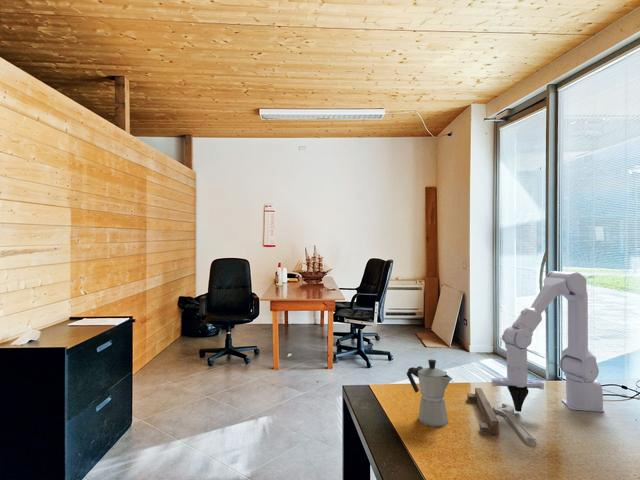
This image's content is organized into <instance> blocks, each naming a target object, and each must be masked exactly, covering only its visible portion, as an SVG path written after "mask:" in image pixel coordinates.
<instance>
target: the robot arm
mask: <svg viewBox="0 0 640 480" xmlns="http://www.w3.org/2000/svg"><path fill="white" fill-rule="evenodd" d="M557 296H563V297H564V298H565V299H566V300H567V347H566V348H565V349H563V350H562V351H561V358H560V359H559V368H560V370H561V372H562V373H563V376H564V377H565V398H561V401H562V402H563V403H564V405H566V406H567V407H568V408H569V409H570V410H572V411H573V410H574V411H587V412H597V413H600V412H601V413H602V412H603V413H604V412H605V410H604V394H603V393H604V392H603V388H602V383H601V382H600V380H598V379H597V378H598V376H599V372H600V370H599V365H598V363H597V357H596V356H595V355H594V354H593V353H592V352H591V351H590V350H589V321H588V320H589V311H588V310H589V304H588V303H589V299H588V298H589V296H588V291H587V278H586V277H584V275H583V274H581V273H580V272H578V271H577V272H576V271H574V272H573V271H572V272H571V271H569V272H568V271H557V270H552V271H549V272H548V273H547V275H546V277H545V278H544V279H543V286H542V287H541V290H540V291H539V293H538V295H537V296H536V298H535V299H534V301H533V302H532V304H531V305H530V307H526V308H523V309H522V310H521V311H520V314H519V316H518V317H517V318H516V320H515V321H514V322H513V323H512V324H511V326H508V327H507V328H506V329H505V330H504V331H503V333H502V335H501V339H502V341H503V343H504V345H505V346H504V347H505V349H506V377H501V378H500V377H497V378H496V377H494V378H493V377H491V385H492V386H493V387H497V386H498V387H507V390H508V392H509V394H510V396H511V399H512V403H513V407H514V411H515V412H517V413H521V412H522V407H523V405H524V403H525V400H526V398H527V396H528V395H529V389H539V390H542V391H543V390H544V389H545V383H544V382H543V381H542V380H534V379H528V347H529V346H531V344H532V341H533V336H534V331H536V329H537V327H538V326H539V325H540V323H541V322H542V321H543V317H542V313H543V312H544V311H545V310H546V308H548V306H549V305H550V304H551V303H552V301H553V300H555V298H556V297H557Z"/></svg>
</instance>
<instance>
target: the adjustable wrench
mask: <svg viewBox="0 0 640 480" xmlns="http://www.w3.org/2000/svg"><path fill="white" fill-rule="evenodd" d="M503 407H504V408H503ZM492 409H493V411H494V413H495V415H499V414H500V416H502V417H504V418H505V420H506V421H508V423H509V424H510V425H511V427H513V429H514V430H515V432H516V433H517V434H518V435H519V437H520V438H521V439H522V440H523V442H524V443H525V444H526V445H528V446H530V447H535V446H537V440H536V438H535V437H534V436H533V435H532V434H531V433H530V431H528V430H527V428H526V427H525V426H524V425H523V424H522V423H521V422H520V421H519V420H518V419H517V417H516V416H515V415H514V413H515V408H514V405H511V404H508V403H505V402H502V403H501V406H499V405H496V404H495V403H494V404H492Z"/></svg>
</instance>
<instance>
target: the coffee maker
mask: <svg viewBox="0 0 640 480" xmlns="http://www.w3.org/2000/svg"><path fill="white" fill-rule="evenodd" d="M427 362H428V366H429V367H423V366H421V365H419V366H417V367H412V366H411V367H409V368H408V370H407V372H406V376H407V379H408V380H409V382H410V384H411V387H412V388H413V391H414V393H416V394H417V393H418V392H419V391H420V395H422V396H420V402H419V409H418V414H417V415H418V417H417V419H418V420H419V422H420V424H421V425H425V426H428V427H431V428H441V427H443V428H444V427H445V426H446V425H447V424H448V423H449V419H448V414H447V408H446V407H447V406H446V401H445V399H444V397H445V393H446V388H447V387H448V385H449V384H450V382H451V381H452V380H453V377H451V376H449V375H448V373H447V371H446V370H443V369H440V368H437V367H436V363H437V360H436V359H428V360H427ZM413 376H415V377H417V378H418V384H419V387H418V385H417V383H416V381H415V378H414V377H413Z"/></svg>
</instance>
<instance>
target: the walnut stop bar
mask: <svg viewBox="0 0 640 480" xmlns="http://www.w3.org/2000/svg"><path fill="white" fill-rule="evenodd" d="M466 398H467V399H466V400H467V401H468V404H469V403H471V404H476V405H477V407H478V410H479V411H480V413H481V416H482V418H483V420H484V422H479V431H480V433H481V435H483V436H492V437H493V436H494V437H500V421H499V419H498V417H497V414H496V413H494V411H493V406H491V403H490V402H489V400H488V397H487V396H486V394H485V393H484V391H483V388H482V387H474V393H469V392H468V393H467V397H466Z"/></svg>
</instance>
